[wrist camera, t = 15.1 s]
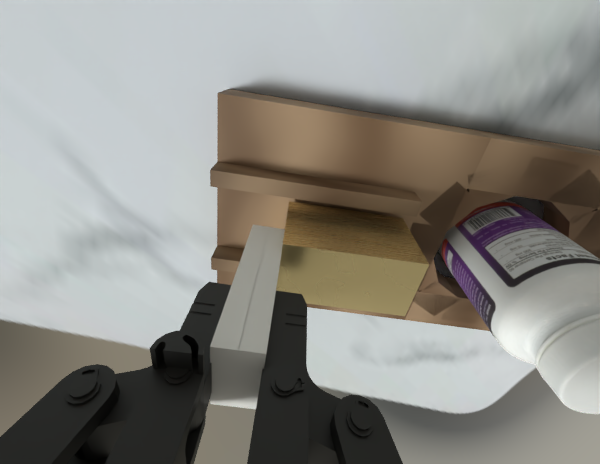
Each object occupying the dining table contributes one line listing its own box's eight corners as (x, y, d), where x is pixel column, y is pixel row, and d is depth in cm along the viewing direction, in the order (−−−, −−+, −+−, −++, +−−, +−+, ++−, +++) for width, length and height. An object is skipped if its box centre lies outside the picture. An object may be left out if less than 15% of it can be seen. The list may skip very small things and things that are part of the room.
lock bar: (282, 248, 16) (275, 299, 13) (289, 201, 15) (282, 243, 12) (385, 263, 17) (404, 316, 13) (402, 218, 15) (429, 264, 12)
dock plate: (225, 275, 21) (211, 308, 18) (228, 88, 14) (209, 96, 12) (521, 315, 22) (551, 352, 19) (641, 157, 16) (713, 178, 13)
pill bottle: (494, 277, 20) (626, 434, 12) (421, 259, 19) (506, 411, 11) (548, 208, 17) (772, 350, 9) (466, 185, 17) (622, 313, 8)
